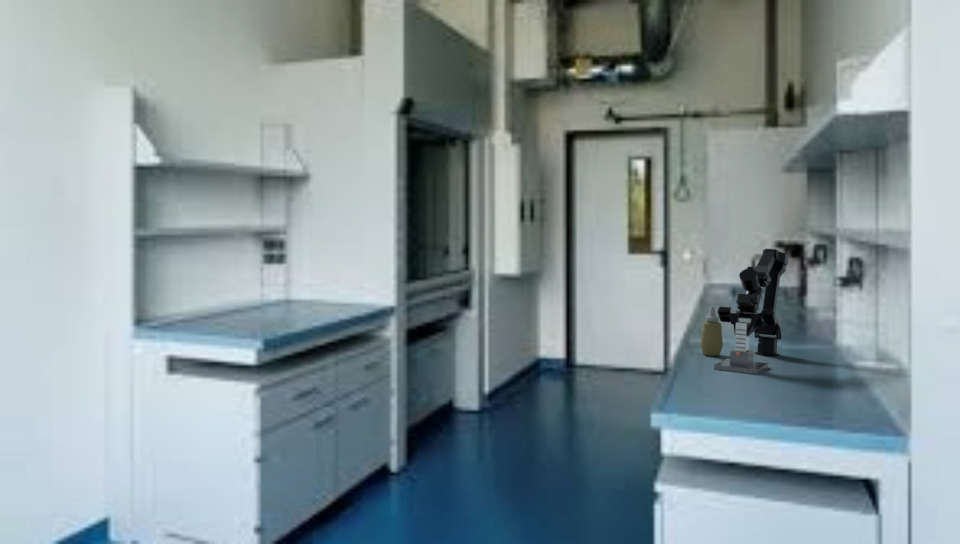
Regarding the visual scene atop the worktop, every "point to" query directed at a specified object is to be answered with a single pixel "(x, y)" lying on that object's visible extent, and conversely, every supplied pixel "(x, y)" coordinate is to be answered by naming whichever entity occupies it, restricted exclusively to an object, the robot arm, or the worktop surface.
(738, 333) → the block
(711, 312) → the squeeze bottle
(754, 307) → the robot arm
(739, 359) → the stand
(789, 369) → the worktop surface
